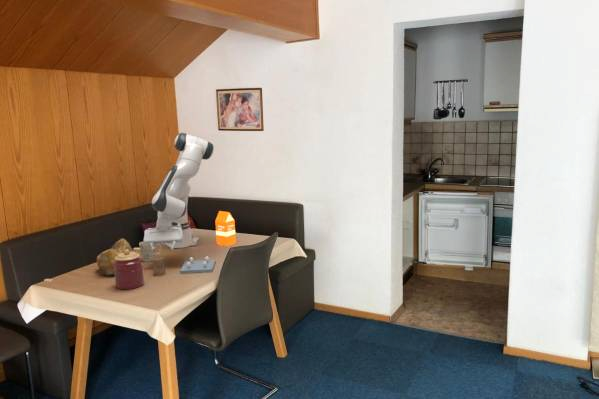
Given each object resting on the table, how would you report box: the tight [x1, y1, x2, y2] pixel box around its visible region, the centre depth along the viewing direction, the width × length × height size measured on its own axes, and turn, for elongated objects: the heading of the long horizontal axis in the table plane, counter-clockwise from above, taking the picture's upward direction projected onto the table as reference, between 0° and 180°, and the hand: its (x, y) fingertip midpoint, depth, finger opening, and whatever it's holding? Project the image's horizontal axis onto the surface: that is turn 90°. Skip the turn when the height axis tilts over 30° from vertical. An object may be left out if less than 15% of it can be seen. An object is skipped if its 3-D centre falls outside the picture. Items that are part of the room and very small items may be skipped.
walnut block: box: [152, 256, 166, 277], centre depth 255 cm, size 4×4×8 cm
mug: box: [138, 240, 162, 262], centre depth 282 cm, size 8×13×10 cm, turn 137°
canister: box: [113, 249, 145, 290], centre depth 240 cm, size 13×13×18 cm
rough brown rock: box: [96, 237, 134, 276], centre depth 265 cm, size 23×17×15 cm
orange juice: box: [214, 210, 237, 247], centre depth 306 cm, size 8×9×20 cm
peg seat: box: [179, 255, 217, 275], centre depth 263 cm, size 16×16×4 cm
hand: (162, 250), depth 261 cm, fingers open, 8 cm apart
